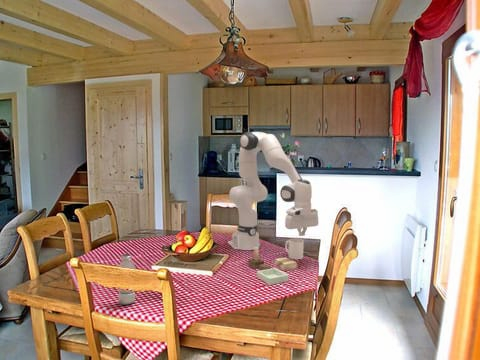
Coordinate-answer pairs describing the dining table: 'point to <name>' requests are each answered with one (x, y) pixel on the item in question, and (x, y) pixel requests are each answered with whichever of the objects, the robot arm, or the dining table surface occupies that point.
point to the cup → (295, 248)
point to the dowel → (256, 254)
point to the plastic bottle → (126, 295)
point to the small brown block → (264, 267)
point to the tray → (272, 276)
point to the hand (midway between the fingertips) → (301, 235)
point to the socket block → (255, 263)
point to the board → (285, 263)
